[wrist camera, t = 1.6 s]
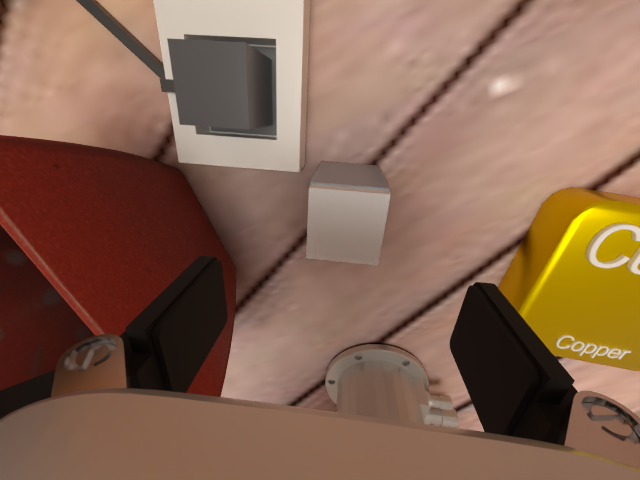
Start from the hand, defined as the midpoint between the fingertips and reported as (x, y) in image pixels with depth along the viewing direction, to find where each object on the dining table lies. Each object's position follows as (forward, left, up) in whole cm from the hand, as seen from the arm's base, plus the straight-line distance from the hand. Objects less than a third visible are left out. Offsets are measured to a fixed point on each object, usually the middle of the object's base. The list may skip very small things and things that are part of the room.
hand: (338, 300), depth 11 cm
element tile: (-24, +6, -17) cm, 30 cm away
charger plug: (0, 0, -16) cm, 16 cm away
